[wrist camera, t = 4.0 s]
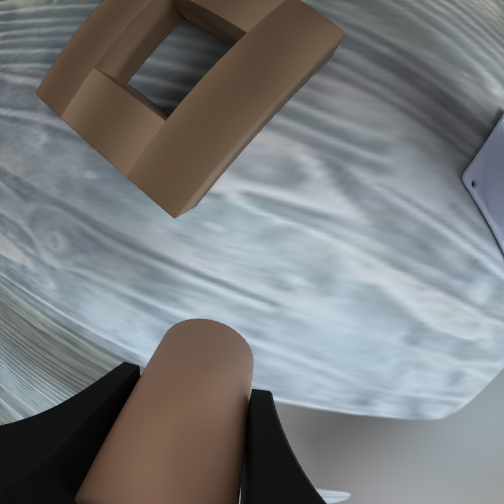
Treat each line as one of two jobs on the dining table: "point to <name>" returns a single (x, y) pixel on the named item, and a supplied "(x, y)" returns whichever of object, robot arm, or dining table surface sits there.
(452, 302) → the dining table surface
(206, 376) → the peg
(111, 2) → the socket block
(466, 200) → the dining table surface
